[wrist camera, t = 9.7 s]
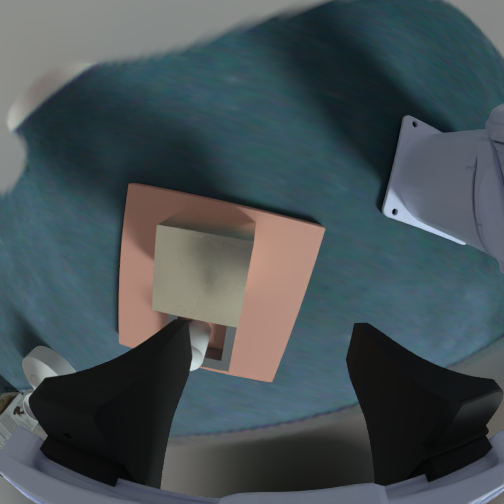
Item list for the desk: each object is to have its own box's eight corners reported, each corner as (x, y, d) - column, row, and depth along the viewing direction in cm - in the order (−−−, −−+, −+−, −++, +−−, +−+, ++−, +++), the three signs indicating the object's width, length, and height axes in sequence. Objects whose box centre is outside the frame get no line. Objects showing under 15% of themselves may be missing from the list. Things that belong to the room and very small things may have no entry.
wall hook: (65, 445, 16) (38, 449, 18) (100, 387, 26) (68, 403, 27) (0, 380, 15) (-12, 398, 16) (49, 331, 24) (25, 358, 26)
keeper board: (322, 225, 19) (343, 246, 14) (271, 375, 23) (273, 420, 18) (134, 182, 19) (95, 189, 14) (123, 337, 23) (97, 374, 18)
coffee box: (23, 416, 31) (-12, 467, 16) (2, 391, 30) (-38, 441, 14) (43, 418, 30) (3, 479, 15) (19, 390, 28) (-27, 449, 13)
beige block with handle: (182, 209, 18) (156, 224, 14) (255, 222, 18) (254, 241, 14) (171, 348, 22) (154, 387, 17) (230, 360, 22) (223, 403, 17)
